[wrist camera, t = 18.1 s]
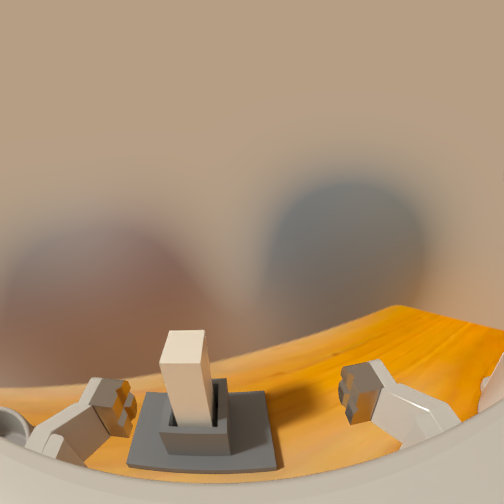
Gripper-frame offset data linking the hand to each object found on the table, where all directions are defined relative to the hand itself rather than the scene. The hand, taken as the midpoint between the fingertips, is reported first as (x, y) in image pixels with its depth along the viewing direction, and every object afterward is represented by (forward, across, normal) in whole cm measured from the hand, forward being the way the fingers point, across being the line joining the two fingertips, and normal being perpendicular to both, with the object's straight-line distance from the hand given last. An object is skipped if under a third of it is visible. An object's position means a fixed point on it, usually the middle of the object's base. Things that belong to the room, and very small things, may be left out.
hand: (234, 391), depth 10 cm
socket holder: (+16, +6, +24) cm, 30 cm away
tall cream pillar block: (+16, +6, +23) cm, 29 cm away
